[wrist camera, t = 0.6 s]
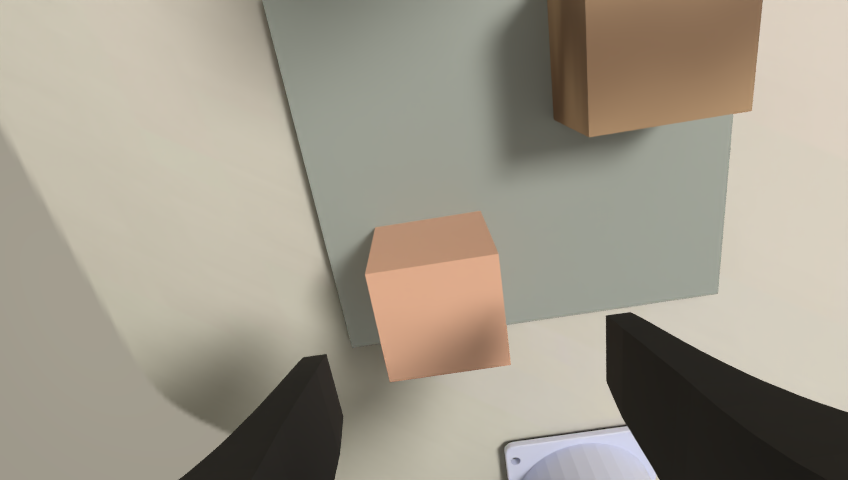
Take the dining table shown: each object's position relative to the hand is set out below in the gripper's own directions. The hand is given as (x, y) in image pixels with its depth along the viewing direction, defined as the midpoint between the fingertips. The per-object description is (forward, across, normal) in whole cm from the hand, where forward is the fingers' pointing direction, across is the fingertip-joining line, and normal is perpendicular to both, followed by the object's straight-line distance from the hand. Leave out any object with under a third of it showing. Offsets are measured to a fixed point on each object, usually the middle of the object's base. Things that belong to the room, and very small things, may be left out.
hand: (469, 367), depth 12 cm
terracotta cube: (+9, +1, +1) cm, 9 cm away
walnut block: (+9, -7, -7) cm, 13 cm away
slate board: (+9, -3, -3) cm, 10 cm away
